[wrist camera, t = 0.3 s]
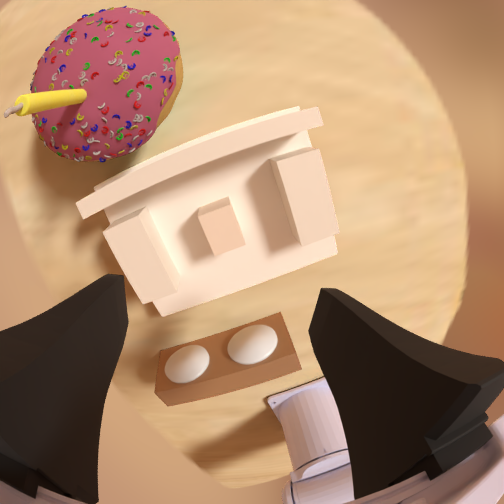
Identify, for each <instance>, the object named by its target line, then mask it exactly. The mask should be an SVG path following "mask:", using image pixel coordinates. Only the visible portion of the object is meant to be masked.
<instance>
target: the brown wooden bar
mask: <svg viewBox="0 0 504 504" xmlns="http://www.w3.org/2000/svg"><path fill="white" fill-rule="evenodd" d="M301 369H302V368H301V365H300V362H299V359H298V357H297V354H296V351H295V348H294V346H293V343H292V340H291V338H290V335H289V332H288V330H287V327H286V325H285V322H284V319H283V317H282V314H281V312H279V313H276V314H273V315H271V316H268V317H265V318H262V319H259V320H257V321H254V322H251V323H248V324H245V325H242V326H239V327H236V328H233V329H230V330H227V331H224V332H221V333H218V334H215V335H212V336H208V337H205V338H202V339H199V340H195V341H192V342H189V343H185V344H182V345H179V346H175V347H172V348H168V349H165V350H161V353H160V359H159V365H158V371H157V378H156V385H155V392H154V393H155V394H156V395H157V396H158V397H159V398H160V399H161V400H162V401H163V402H164V403H165V404H166V405H167V406H173V405H178V404H183V403H188V402H192V401H197V400H201V399H205V398H210V397H214V396H218V395H221V394H225V393H229V392H233V391H236V390H240V389H243V388H247V387H250V386H254V385H257V384H260V383H263V382H266V381H269V380H273V379H276V378H279V377H282V376H284V375H287V374H290V373H293V372H296V371H299V370H301Z"/></svg>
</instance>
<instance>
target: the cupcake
mask: <svg viewBox="0 0 504 504" xmlns="http://www.w3.org/2000/svg"><path fill="white" fill-rule="evenodd" d="M125 7H127V6H125ZM125 7H120V8H108V9H107V10H105V9H102V10H100V11H99V12H96V13H92V14H90V15H86V14H85V15H83V16H85V17H83V16H82V18H80V19H78V20H77V22H76V23H74V24H73V25H71V26H69V27H68V28H67V29H64V30H65V31H64V30H63V31H62V32H61V33H60V34H59V35H58V36H56V37H55V40H54V41H53V42H52V43H51V44H50V46H49V47H47V48H46V50H45V51H46V52H45V53H44V54H43V56H42V57H41V59H40V60H39V61H38V67H37V69H36V70H35V72H34V73H33V75H34V74H35V75H34V77H33V79H32V80H33V81H32V82H31V84H30V86H31V89H30V90H31V94H24V95H21V96H20V97H18V99H17V100H16V102H15V105H14V107H10V108H8V109H7V110H6V111H5V113H4V117H5V118H6V117H8V116H9V115H10V114H13V113H16V114H17V115H18V116H25V115H29V114H32V122H33V123H34V125H35V128H36V130H37V132H38V134H39V135H40V139H41V140H43V141H44V145H45V147H46V145H47V146H48V147H49V148H50V149H51V150H52V151H54V152H55V153H57V154H58V155H59V156H61V157H66V158H69V159H72V160H76V161H78V162H80V161H87V162H94V161H100V162H105V161H106V160H110V159H113V158H116V157H119V156H123V155H126V154H129V153H131V152H133V151H135V150H136V149H138V148H139V147H141V146H142V145H143V144H144V143H146V142H147V141H148V140H149V139H150V138H151V137H152V135H153V134H154V132H155V130H156V128H157V127H158V126H159V125H160V124H161V123H162V122H163V121H164V119H165V118H166V117H167V116H168V114H169V113H170V111H171V109H172V107H173V104H174V102H175V100H176V97H177V95H178V93H179V91H180V89H181V86H182V82H183V66H182V59H181V55H180V48H179V43H178V41H177V39H176V37H175V36H174V34H175V33H174V32H173V31H170V29H169V28H168V26H167V25H166V24H165V23H163V22H162V21H161V20H160V19H159V18H158V17H157V16H155V15H153V14H151V13H149V12H150V11H141V10H137V9H133V8H125Z"/></svg>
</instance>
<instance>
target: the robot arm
mask: <svg viewBox="0 0 504 504" xmlns="http://www.w3.org/2000/svg"><path fill="white" fill-rule="evenodd" d="M127 327H128V314H127V306H126V297H125V286H124V275H114V274H107V275H105V276H103V277H101V278H99V279H98V280H96V281H94V282H93V283H91V284H90V285H88V286H87V287H85V288H83V289H82V290H80V291H79V292H77V293H76V294H74V295H73V296H71V297H69V298H68V299H66V300H64V301H63V302H61V303H59V304H58V305H56V306H54V307H53V308H51V309H49V310H48V311H46V312H44V313H42V314H40V315H38V316H36V317H34V318H32V319H30V320H28V321H26V322H23V323H21V324H18V325H16V326H13V327H10V328H8V329H5V330H3V331H0V504H96V503H97V502H98V501H99V499H98V475H97V473H98V471H97V470H98V448H99V437H100V428H101V421H102V415H103V408H104V403H105V399H106V395H107V392H108V388H109V385H110V382H111V379H112V376H113V373H114V371H115V368H116V365H117V362H118V359H119V356H120V353H121V351H122V348H123V345H124V340H125V336H126V332H127ZM308 331H309V335H310V339H311V343H312V347H313V350H314V353H315V356H316V358H317V360H318V363H319V365H320V367H321V370H322V372H323V374H324V376H325V377H323V378H321V379H318V380H316V381H313V382H310V383H308V384H305V385H302V386H300V387H297V388H294V389H291V390H288V391H285V392H282V393H279V394H276V395H273V396H270V397H268V398H267V401H268V404H269V405H270V407H271V409H272V410H273V412H274V413H275V415H276V417H277V418H278V420H279V422H280V423H281V425H282V428H283V432H284V436H285V439H286V443H287V447H288V451H289V455H290V458H291V462H292V466H293V470H294V471H293V472H290V476H291V480H289V481H287V482H286V483H285V486H284V487H283V489H282V501H283V504H496V503H497V502H498V501H499V499H500V498H501V496H502V495H503V493H504V414H503V415H502V416H500V417H499V418H498V419H497V420H495V421H494V422H493V423H492V424H491V425H490V426H489V427H487V426H486V425H485V423H484V422H486V421H487V420H488V416H487V414H486V413H485V411H486V410H487V409H488V407H489V406H490V405H491V404H492V402H493V401H494V400H495V399H496V397H497V396H498V395H499V394H500V393H501V391H502V390H503V388H504V362H503V361H502V360H500V359H498V358H492V357H485V356H478V355H473V354H469V353H465V352H461V351H457V350H454V349H451V348H448V347H445V346H442V345H439V344H437V343H434V342H431V341H429V340H427V339H424V338H422V337H420V336H418V335H416V334H414V333H411V332H409V331H407V330H405V329H403V328H402V327H400V326H398V325H396V324H395V323H393V322H391V321H389V320H387V319H386V318H384V317H383V316H381V315H379V314H378V313H376V312H374V311H373V310H371V309H370V308H368V307H366V306H365V305H363V304H362V303H360V302H359V301H357V300H355V299H354V298H352V297H351V296H349V295H347V294H345V293H344V292H342V291H340V290H338V289H335V288H321V290H320V294H319V297H318V301H317V304H316V308H315V311H314V314H313V317H312V321H311V324H310V327H309V330H308Z"/></svg>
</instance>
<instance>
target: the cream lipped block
mask: <svg viewBox="0 0 504 504" xmlns="http://www.w3.org/2000/svg"><path fill="white" fill-rule="evenodd" d="M319 126H323V121H322V118H321V115H320V112H319V108H318V107H313V108H309V109H305V110H300V107H299V106H296V107H292V108H288V109H285V110H281V111H277V112H274V113H270V114H267V115H264V116H260V117H257V118H254V119H250V120H247V121H244V122H241V123H238V124H235V125H232V126H229V127H226V128H223V129H221V130H218V131H215V132H212V133H210V134H207V135H204V136H202V137H199V138H197V139H194V140H191V141H189V142H186V143H184V144H182V145H179V146H177V147H174V148H172V149H170V150H167V151H165V152H163V153H161V154H158V155H156V156H154V157H152V158H149V159H147V160H145V161H143V162H141V163H139V164H137V165H135V166H133V167H131V168H129V169H127V170H125V171H123V172H121V173H119V174H117V175H115V176H113V177H111V178H109V179H107V180H105V181H103V182H102V183H100V184H98V185H96V186H94V190H95V192H93V193H92V194H90V195H88V196H86V197H85V198H83V199H81V200H79V201H78V202H76V205H77V207H78V209H79V212H80V214H81V216H82V218H83V220H84V219H85V218H87V217H89V216H91V215H93V214H95V213H97V212H99V211H100V210H102V209H103V210H104V212H105V214H106V216H107V218H108V220H109V222H110V225H109V226H108V227H107V228H106V229H105V230H104V231H103V234H104V236H105V238H106V240H107V242H108V244H109V246H110V248H111V250H112V252H113V254H114V255H115V257H116V259H117V261H118V263H119V265H120V266H121V268H122V270H123V272H124V274H125V275H126V277H127V279H128V280H129V282H130V284H131V286H132V287H133V289H134V291H135V292H136V294H137V296H138V297H139V299H140V300H141V302H142V304H146V303H149V302H153V303H154V305H155V306H156V308H157V310H158V311H159V313H160V314H161V316H162V317H164V316H167V315H170V314H173V313H176V312H179V311H182V310H185V309H188V308H191V307H194V306H197V305H200V304H203V303H206V302H208V301H211V300H214V299H217V298H220V297H223V296H226V295H229V294H231V293H234V292H237V291H240V290H243V289H245V288H248V287H251V286H254V285H256V284H259V283H262V282H265V281H267V280H270V279H273V278H276V277H278V276H281V275H284V274H286V273H289V272H292V271H294V270H297V269H300V268H302V267H305V266H307V265H310V264H313V263H315V262H318V261H320V260H323V259H326V258H328V257H331V256H333V255H336V254H338V251H337V246H336V241H335V237H334V235H335V234H338V233H340V232H339V227H338V223H337V218H336V213H335V209H334V205H333V200H332V196H331V192H330V188H329V184H328V180H327V176H326V172H325V168H324V165H323V161H322V157H321V154H320V150H319V149H318V148H312V146H311V142H310V139H309V136H308V132H307V130H308V129H312V128H315V127H319Z"/></svg>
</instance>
